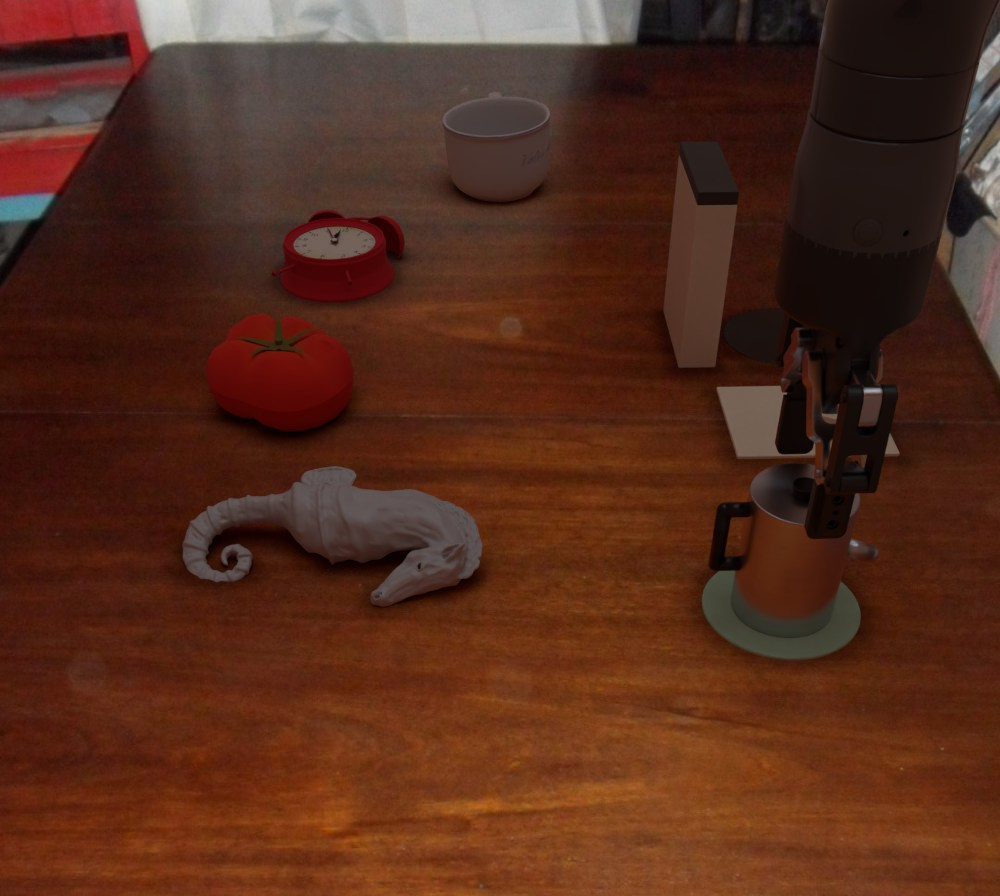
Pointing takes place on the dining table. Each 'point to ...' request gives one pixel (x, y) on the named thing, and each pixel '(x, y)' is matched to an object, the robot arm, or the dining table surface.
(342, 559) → the seahorse
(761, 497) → the kettle
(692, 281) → the tower
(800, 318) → the robot arm
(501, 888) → the dining table surface
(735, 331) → the coffee maker plate
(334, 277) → the alarm clock
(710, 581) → the disc
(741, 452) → the cream button base
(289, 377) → the tomato
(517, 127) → the teacup
